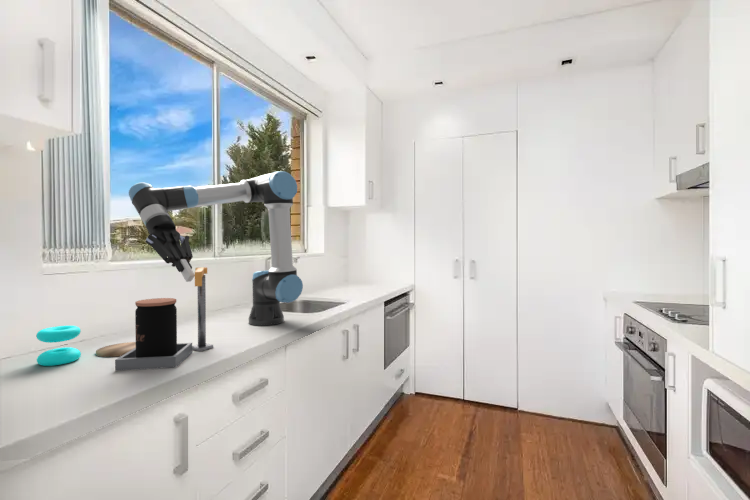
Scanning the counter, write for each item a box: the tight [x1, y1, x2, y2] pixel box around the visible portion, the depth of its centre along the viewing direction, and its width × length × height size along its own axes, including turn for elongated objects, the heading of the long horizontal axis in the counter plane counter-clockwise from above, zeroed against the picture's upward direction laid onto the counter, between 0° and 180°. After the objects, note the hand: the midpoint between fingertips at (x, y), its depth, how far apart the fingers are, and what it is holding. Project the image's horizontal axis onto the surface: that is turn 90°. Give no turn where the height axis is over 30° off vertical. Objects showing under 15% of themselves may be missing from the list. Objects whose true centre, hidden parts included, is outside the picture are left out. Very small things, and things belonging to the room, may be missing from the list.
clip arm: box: [194, 266, 208, 287], centre depth 116 cm, size 22×4×4 cm, turn 23°
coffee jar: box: [134, 297, 178, 358], centre depth 112 cm, size 11×11×18 cm
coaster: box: [95, 341, 136, 358], centre depth 123 cm, size 15×15×1 cm
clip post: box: [192, 274, 214, 352], centre depth 125 cm, size 5×5×24 cm
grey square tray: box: [114, 342, 193, 372], centre depth 112 cm, size 15×15×3 cm
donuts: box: [36, 325, 82, 367], centre depth 111 cm, size 10×10×10 cm
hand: (190, 278), depth 109 cm, fingers closed
